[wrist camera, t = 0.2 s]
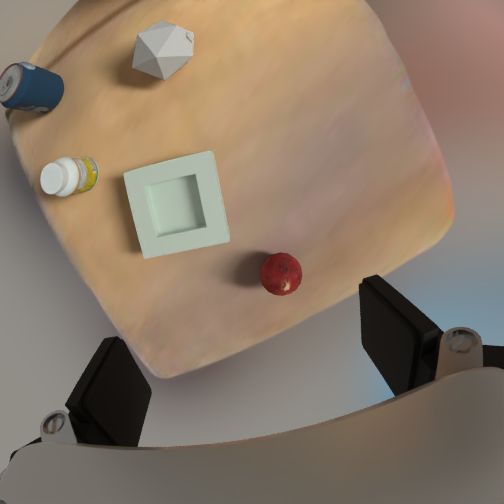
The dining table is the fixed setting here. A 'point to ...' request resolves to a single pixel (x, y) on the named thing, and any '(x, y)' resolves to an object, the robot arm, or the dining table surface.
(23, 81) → the soda can
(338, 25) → the dining table surface
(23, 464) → the robot arm
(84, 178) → the supplement bottle
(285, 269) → the onion
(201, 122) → the dining table surface
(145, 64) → the die
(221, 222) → the sage block
